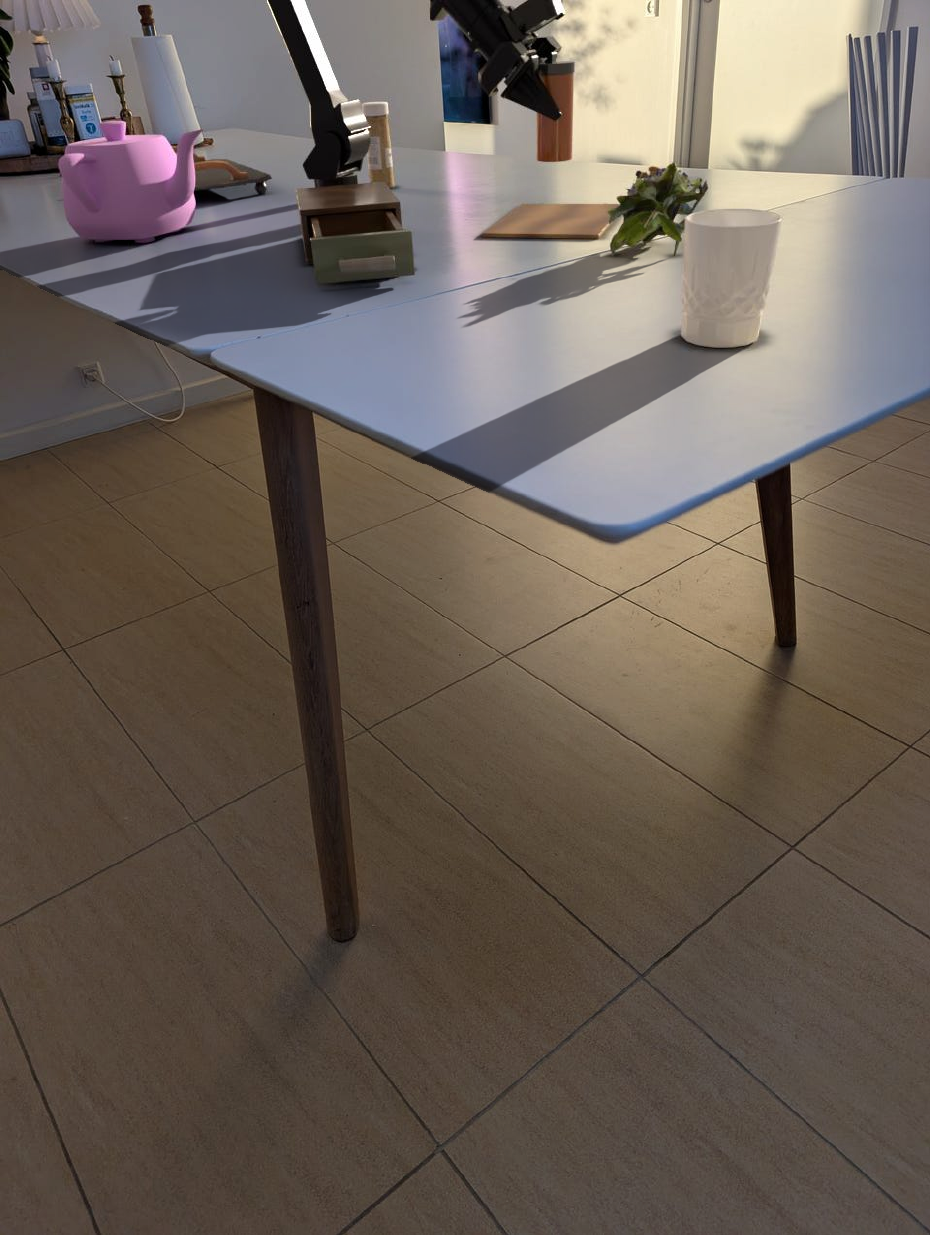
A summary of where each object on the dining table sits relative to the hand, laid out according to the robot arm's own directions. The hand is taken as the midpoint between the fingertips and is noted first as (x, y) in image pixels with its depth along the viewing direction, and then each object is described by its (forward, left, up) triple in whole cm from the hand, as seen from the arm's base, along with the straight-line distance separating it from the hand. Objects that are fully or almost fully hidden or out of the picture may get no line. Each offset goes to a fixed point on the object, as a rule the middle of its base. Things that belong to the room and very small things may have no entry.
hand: (564, 116), depth 117 cm
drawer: (-5, -35, -13) cm, 38 cm away
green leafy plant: (+19, -8, -14) cm, 25 cm away
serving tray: (-84, -2, -14) cm, 85 cm away
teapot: (-54, -33, -14) cm, 64 cm away
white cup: (+41, -36, -14) cm, 56 cm away
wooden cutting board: (-2, +2, -13) cm, 14 cm away
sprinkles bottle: (-49, +14, -14) cm, 52 cm away
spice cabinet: (-18, -24, -13) cm, 33 cm away
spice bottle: (-1, 0, -5) cm, 5 cm away
